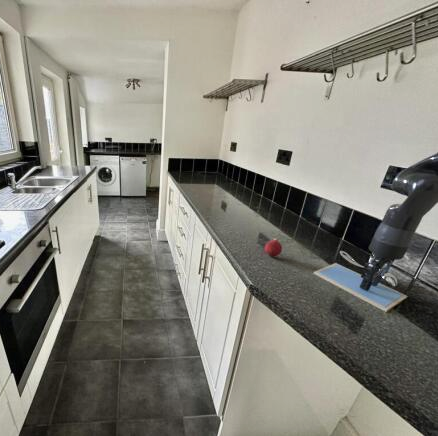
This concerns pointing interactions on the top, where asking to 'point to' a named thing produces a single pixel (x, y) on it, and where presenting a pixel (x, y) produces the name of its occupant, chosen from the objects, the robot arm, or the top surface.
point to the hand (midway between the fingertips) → (368, 286)
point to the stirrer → (388, 276)
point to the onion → (273, 248)
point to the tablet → (351, 283)
